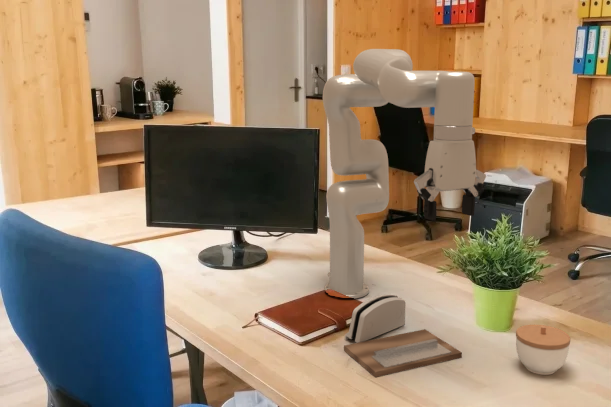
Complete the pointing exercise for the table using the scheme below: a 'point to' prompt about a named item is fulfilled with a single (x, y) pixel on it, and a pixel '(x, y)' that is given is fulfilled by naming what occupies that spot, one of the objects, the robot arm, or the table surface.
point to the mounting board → (367, 348)
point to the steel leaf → (409, 353)
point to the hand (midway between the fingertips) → (449, 216)
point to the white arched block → (376, 317)
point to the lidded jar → (542, 348)
